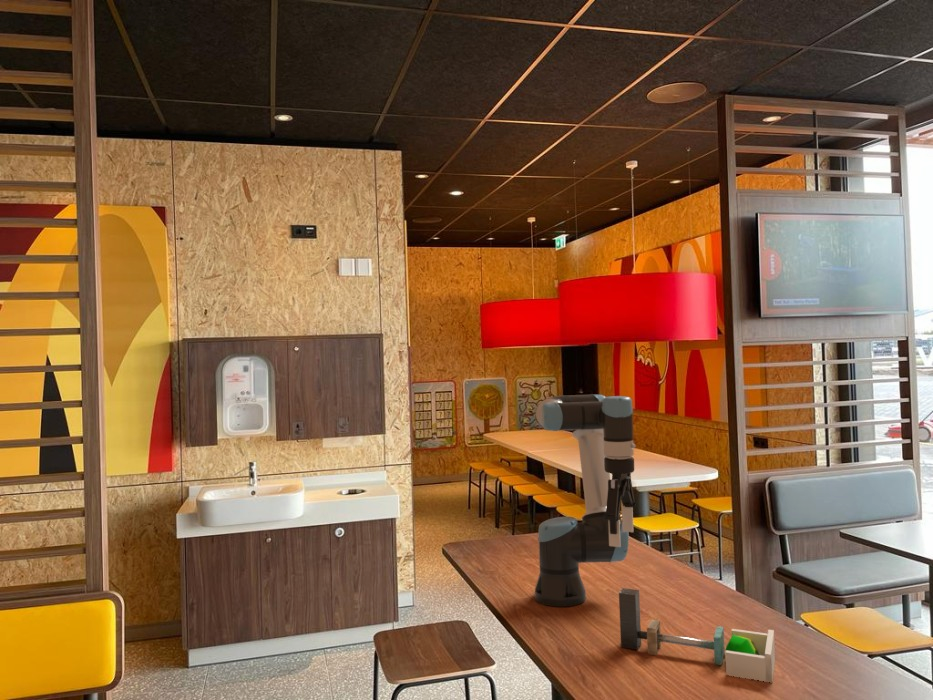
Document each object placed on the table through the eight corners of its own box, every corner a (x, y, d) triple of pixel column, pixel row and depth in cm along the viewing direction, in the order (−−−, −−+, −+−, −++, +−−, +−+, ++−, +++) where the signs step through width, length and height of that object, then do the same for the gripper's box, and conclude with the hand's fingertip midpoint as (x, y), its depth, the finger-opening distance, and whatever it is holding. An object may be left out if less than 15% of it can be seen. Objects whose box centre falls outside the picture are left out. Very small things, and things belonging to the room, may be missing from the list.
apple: (733, 634, 150) (751, 623, 156) (714, 646, 153) (733, 635, 159) (754, 665, 146) (772, 651, 152) (734, 676, 150) (753, 663, 156)
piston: (619, 649, 160) (617, 595, 161) (626, 638, 167) (624, 586, 167) (721, 665, 150) (718, 607, 150) (724, 653, 156) (722, 597, 156)
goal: (726, 675, 146) (725, 647, 146) (732, 649, 159) (731, 624, 159) (772, 683, 142) (770, 654, 142) (775, 656, 155) (773, 630, 155)
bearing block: (647, 653, 158) (646, 627, 158) (652, 644, 163) (651, 619, 163) (656, 655, 157) (655, 628, 157) (661, 646, 162) (660, 620, 162)
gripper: (621, 466, 158) (624, 554, 158) (644, 449, 180) (646, 527, 180) (590, 464, 161) (593, 551, 162) (616, 448, 184) (619, 524, 184)
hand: (621, 538), depth 171 cm, fingers open, 13 cm apart
